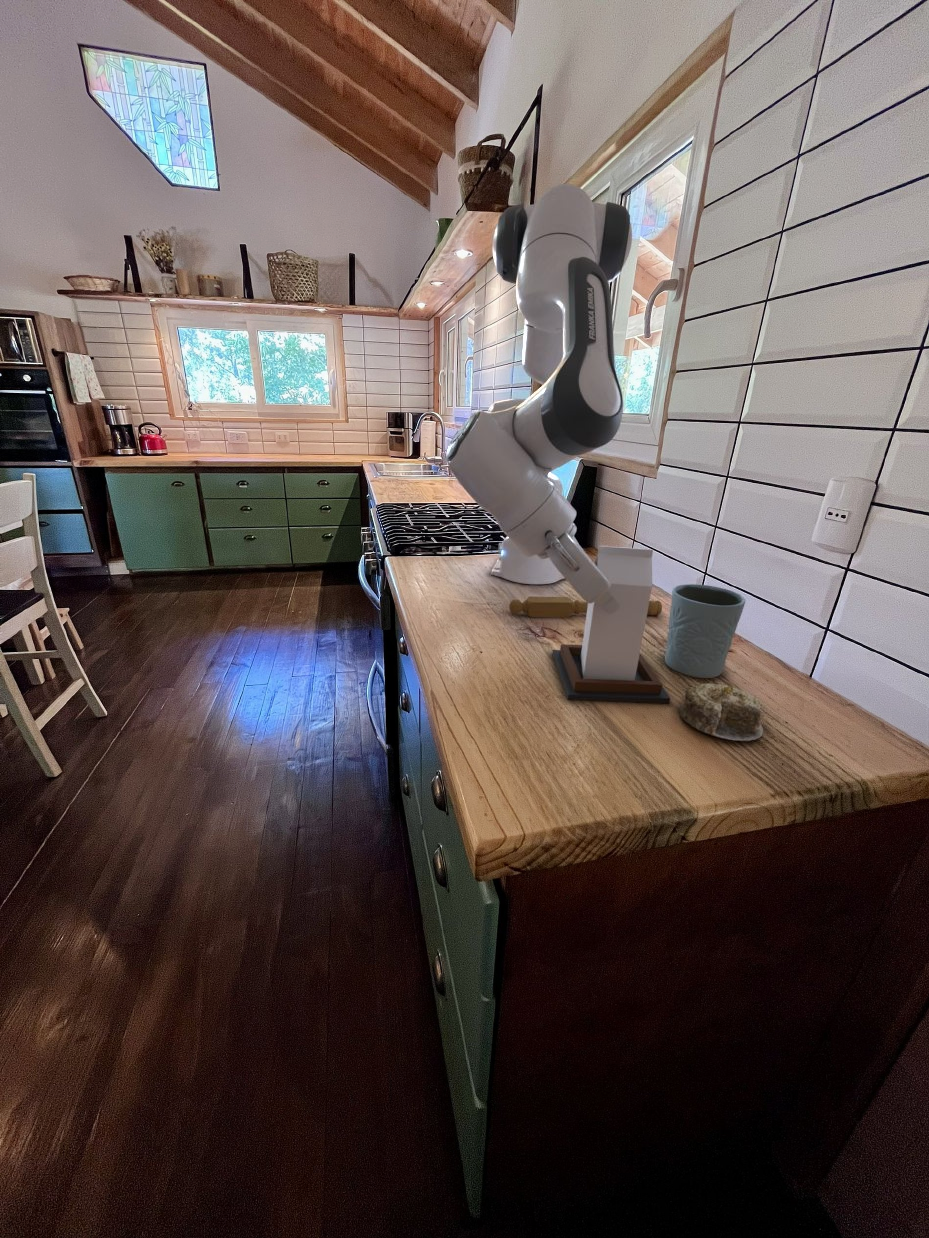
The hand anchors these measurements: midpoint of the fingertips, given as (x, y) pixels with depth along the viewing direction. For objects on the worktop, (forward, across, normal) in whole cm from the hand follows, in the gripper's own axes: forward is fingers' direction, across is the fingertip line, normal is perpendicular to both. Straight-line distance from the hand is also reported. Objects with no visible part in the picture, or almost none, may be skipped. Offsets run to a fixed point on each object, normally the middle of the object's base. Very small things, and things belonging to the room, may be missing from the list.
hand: (605, 596), depth 70 cm
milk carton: (+10, 0, +7) cm, 12 cm away
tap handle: (+12, +25, +6) cm, 28 cm away
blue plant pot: (+21, +5, -3) cm, 22 cm away
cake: (+19, -11, -1) cm, 22 cm away
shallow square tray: (+10, 0, +8) cm, 13 cm away
